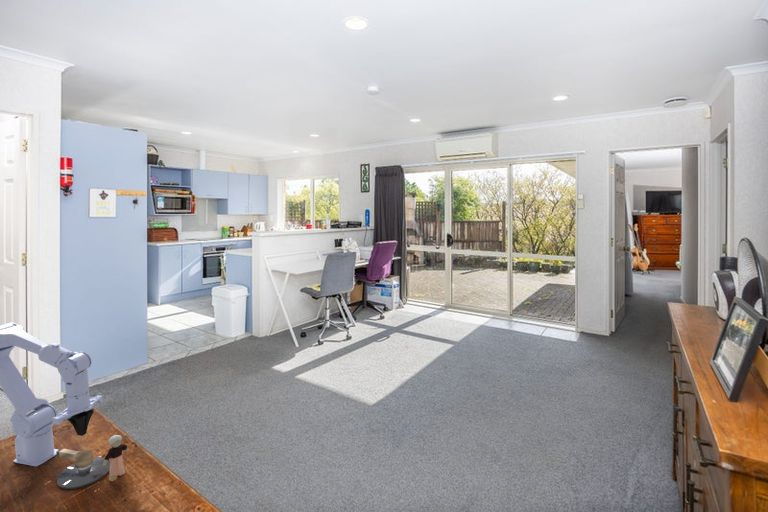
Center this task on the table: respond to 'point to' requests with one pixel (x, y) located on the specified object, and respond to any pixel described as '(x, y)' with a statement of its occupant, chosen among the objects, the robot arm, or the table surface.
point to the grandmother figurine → (115, 457)
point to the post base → (83, 474)
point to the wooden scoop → (76, 456)
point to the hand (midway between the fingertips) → (81, 434)
